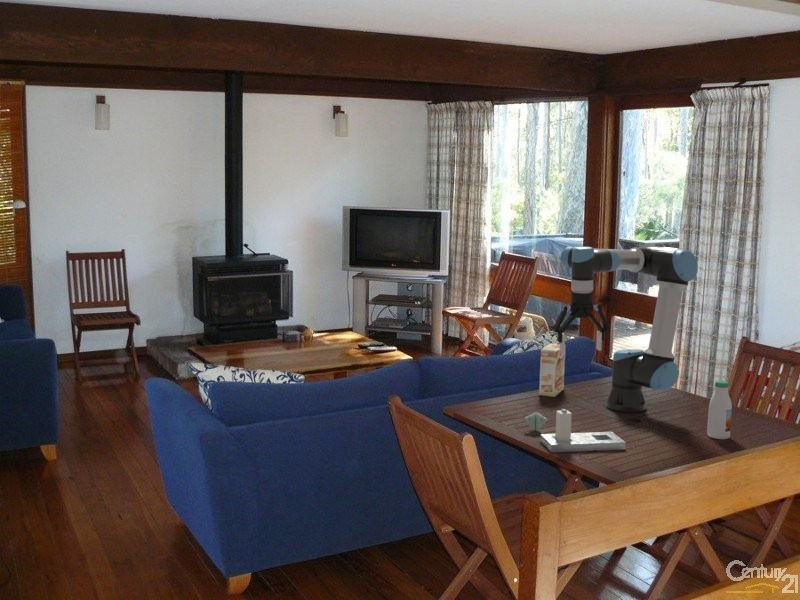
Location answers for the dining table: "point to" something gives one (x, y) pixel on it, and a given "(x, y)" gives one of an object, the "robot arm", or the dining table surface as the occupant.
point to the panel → (584, 442)
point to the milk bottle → (720, 412)
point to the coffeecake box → (551, 370)
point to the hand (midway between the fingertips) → (580, 350)
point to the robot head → (535, 420)
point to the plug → (563, 425)
